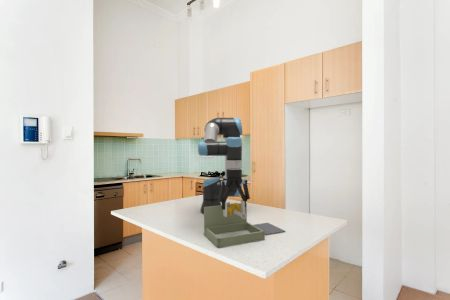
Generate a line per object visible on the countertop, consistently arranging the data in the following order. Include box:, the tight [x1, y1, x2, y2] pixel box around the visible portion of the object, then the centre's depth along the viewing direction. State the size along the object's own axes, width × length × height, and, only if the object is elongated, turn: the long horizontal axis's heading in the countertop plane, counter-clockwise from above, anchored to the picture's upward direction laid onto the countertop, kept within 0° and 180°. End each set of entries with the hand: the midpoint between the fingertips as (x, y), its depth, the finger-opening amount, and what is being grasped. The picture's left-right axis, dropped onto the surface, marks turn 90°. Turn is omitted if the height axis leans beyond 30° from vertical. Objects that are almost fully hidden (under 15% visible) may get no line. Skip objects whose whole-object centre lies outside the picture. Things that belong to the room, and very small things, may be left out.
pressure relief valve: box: [227, 202, 246, 219], centre depth 119 cm, size 6×12×10 cm
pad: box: [253, 222, 286, 236], centre depth 132 cm, size 16×12×1 cm
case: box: [203, 201, 266, 249], centre depth 120 cm, size 18×24×15 cm
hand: (234, 214), depth 119 cm, fingers closed on pressure relief valve, 9 cm apart
